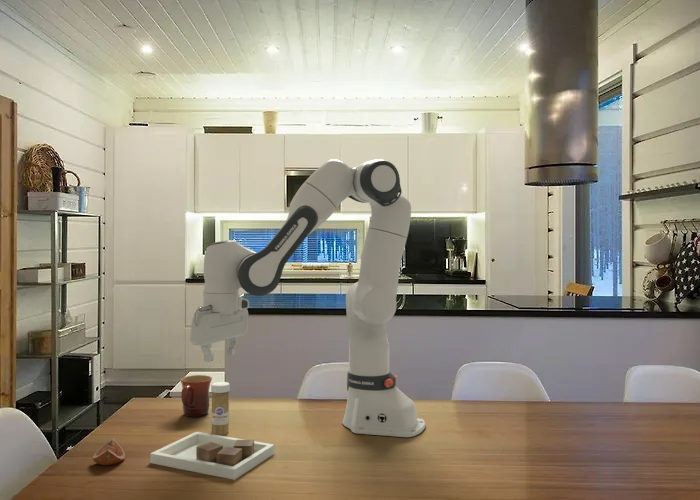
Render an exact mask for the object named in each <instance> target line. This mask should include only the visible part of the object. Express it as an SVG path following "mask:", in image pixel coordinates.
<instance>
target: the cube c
mask: <svg viewBox="0 0 700 500" xmlns="http://www.w3.org/2000/svg"><path fill="white" fill-rule="evenodd" d="M254 441H255V439H244V440H236V442H235V444H234V448H242V461H243V460H244V459H246V458H248V457H249V456H251V455H253V454H254Z"/></svg>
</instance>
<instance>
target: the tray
mask: <svg viewBox="0 0 700 500" xmlns="http://www.w3.org/2000/svg"><path fill="white" fill-rule="evenodd" d="M236 440H245V439H244V438H243V439H242V438H237V437H230V436H225V435H222V436H220V435H214V434H211V433H207V432H201V431H194V432H193V433H191V434H188V435H187V436H185V437H182V438H180V439H178V440H176V441H174V442H172V443H169V444H168V445H165V446H163V447H162V448H159V449H157V450H155V451H152V452H150V456H149V457H150V459H149V462H150V464H153V465H158V466H164V467H168V468H172V469H177V470H184V471H189V472H194V473H199V474H204V475H209V476H213V477H218V478H223V479H228V480H233V481H235V480H237V479H238V478H240V477H242V475H245V474H246V473H248V472H249V471H251V470H253V469H254V468H255V467H256V466H258V465H259V464H261V463H264V461H266V460H267V459H268V458H270V457H272V456H273V455H275V444H272V443H268V442H262V441H256V440H254V454H253V455H251V456H249V457H248V458H246V459H244V460H243V461H241V462H240V463H238V464H236V465H235V466H228V465H223V464H217V463H212V462H207V461H201V460H196V447H197V446H200V445H203V444H206V443H209V442H213V443H216V444H219V445H223V448H224V447H231V448H234V444H235V442H236Z"/></svg>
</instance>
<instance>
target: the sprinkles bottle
mask: <svg viewBox="0 0 700 500" xmlns="http://www.w3.org/2000/svg"><path fill="white" fill-rule="evenodd" d="M230 385H231V384H230V383H229V382H227V381H218V382H213V383H212V384H210V388H211V389H210V391H211V419H210V420H211V433H210V434H214V435H220V436H225V435H228V434H229V425H230V423H229V422H230V389H231V388H230Z"/></svg>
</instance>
